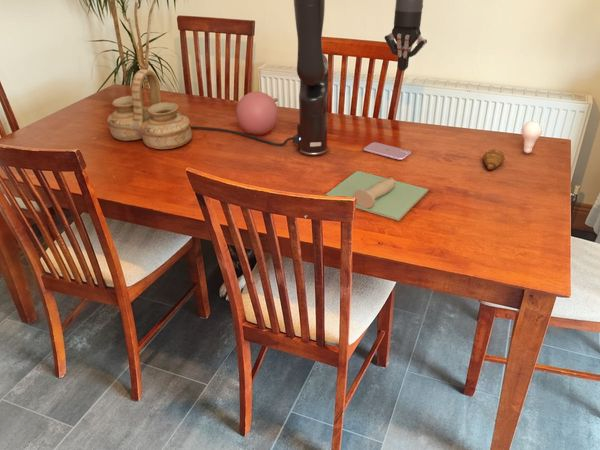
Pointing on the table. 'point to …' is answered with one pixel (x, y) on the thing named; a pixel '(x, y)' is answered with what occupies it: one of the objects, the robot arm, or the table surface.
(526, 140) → the lightbulb
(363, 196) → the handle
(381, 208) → the mat
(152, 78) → the ceramic vessel
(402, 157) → the mobile phone
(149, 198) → the table surface
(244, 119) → the balloon
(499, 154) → the croissant
